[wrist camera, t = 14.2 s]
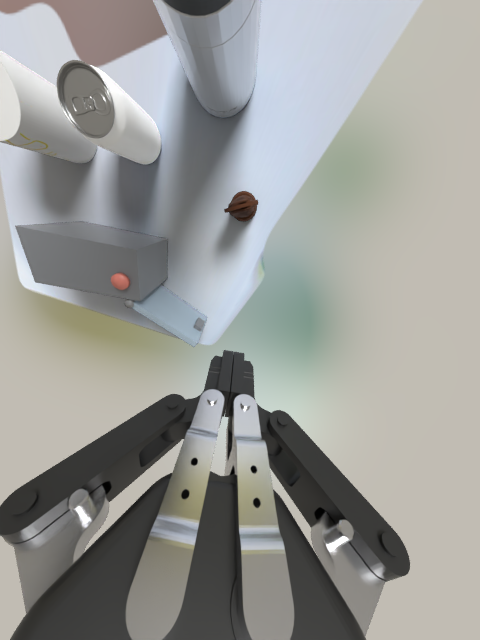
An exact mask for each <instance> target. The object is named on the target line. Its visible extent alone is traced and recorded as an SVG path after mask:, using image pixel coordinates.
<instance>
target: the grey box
mask: <svg viewBox="0 0 480 640" xmlns="http://www.w3.org/2000/svg"><path fill="white" fill-rule="evenodd" d="M15 227H16V229H17V232H18V235H19V238H20V241H21V244H22V246H23V249H24V252H25V255H26V258H27V260H28V263H29V266H30V269H31V272H32V275H33V277H34V280H35V282H37V283H42V284H48V285H53V286H59V287H64V288H70V289H75V290H81V291H86V292H92V293H97V294H103V295H108V296H114V297H119V298H125V299H130V300H136V301H141V300H143V299H144V298H145V297H146V296H147V295H148V294H150V293H151V292H152V291H153V290H154V289H155V288H157V287H158V286H159V285H160V284H161V283H162V282H164V281H165V280H166V279H167V239H166V238H161V237H156V236H151V235H146V234H141V233H137V232H132V231H127V230H122V229H117V228H112V227H107V226H102V225H97V224H92V223H88V222H83V221H80V222H65V223H49V224H34V225H19V226H15Z"/></svg>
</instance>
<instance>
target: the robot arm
mask: <svg viewBox="0 0 480 640" xmlns="http://www.w3.org/2000/svg"><path fill="white" fill-rule="evenodd" d="M153 2H154V4H155V6H156V8H157V10H158V13H159V15H160V17H161V19H162V22H163V24H164V26H165V28H166V31H167V33H168V35H169V37H170V40H171V42H172V44H173V46H174V48H175V51H176V53H177V55H178V57H179V60H180V62H181V64H182V66H183V69H184V71H185V73H186V75H187V78H188V80H189V82H190V85H191V87H192V89H193V91H194V93H195V96H196V97H197V99H198V101H199V103H200V104H201V105H202V106H203V108H204V109H205V110H206V111H208V112H209V113H210V114H212V115H214V116H216V117H221V118H226V117H231V116H233V115H236V114H237V113H238V112H240V111H241V110H242V109H243V108H244V106H245V105H246V104H247V103H248V101H249V99H250V97H251V95H252V92H253V89H254V85H255V80H256V71H257V57H258V43H259V29H260V14H261V0H153ZM233 353H234V355H233ZM253 378H254V376H253V366H252V364H251V363H250V361H244V353H239V352H233V351H226V350H224V352H223V357H219V356H215V357H214V358H213V359H212V360H211V364H210V368H209V372H208V376H207V380H206V384H205V389H204V391H203V393H202V394H201V395H200V396H198V397H196V398H193V399H187V400H185V399H184V398H183V397H182V396H181V395H177V394H171V395H168V396H166V397H164V398H162V399H161V400H159V401H158V402H156V403H154V404H153V405H151V406H150V407H148V408H146V409H145V410H143V411H142V412H140V413H138V414H137V415H135V416H134V417H132V418H130V419H129V420H127V421H126V422H124V423H122V424H121V425H119V426H118V427H116V428H114V429H113V430H111V431H110V432H108V433H106V434H105V435H103V436H101V437H100V438H98V439H97V440H95V441H93V442H92V443H90V444H89V445H87V446H85V447H84V448H82V449H81V450H79V451H77V452H76V453H74V454H73V455H71V456H69V457H68V458H66V459H65V460H63V461H61V462H60V463H58V464H57V465H55V466H53V467H52V468H50V469H49V470H47V471H45V472H44V473H43V474H41V475H39V476H37V477H36V478H34V479H32V480H31V481H29V482H28V483H26V484H25V485H23V486H21V487H20V488H18V489H17V490H16V491H14V492H13V493H12V494H11V495H10V496H9V497H8V498H7V499H6V500H5V501H4V502H3V503H2V505H1V506H0V536H2V537H3V538H4V540H5V541H6V542H7V543H8V544H9V545H11V546H13V547H14V549H15V555H16V560H17V565H18V571H19V577H20V582H21V587H22V593H23V598H24V604H25V609H26V616H25V617H24V618H23V620H22V621H21V623H20V624H19V626H18V627H17V629H16V631H15V632H14V634H13V636H12V637H11V639H10V640H366V638H365V636H366V633H367V630H368V627H369V625H370V622H371V619H372V617H373V614H374V611H375V608H376V606H377V603H378V600H379V597H380V595H381V592H382V589H383V586H384V584H385V582H387V581H390V580H393V579H395V578H398V577H402V576H405V575H406V574H408V572H409V569H410V561H409V556H408V553H407V550H406V548H405V546H404V544H403V542H402V541H401V539H400V537H399V536H398V535H397V533H396V532H395V531H394V530H393V529H392V528H391V526H390V525H389V524H388V523H387V522H386V521H385V520H384V519H383V518H382V517H381V516H380V514H379V513H378V512H377V511H376V510H375V509H374V508H373V507H372V506H371V505H370V503H369V502H368V501H367V500H366V499H365V498H364V497H363V496H362V495H361V493H360V492H358V490H357V489H356V488H355V487H354V486H353V485H352V484H351V483H350V481H349V480H348V479H347V478H346V477H345V476H344V475H343V474H342V473H341V472H340V470H339V469H338V468H337V467H336V466H335V465H334V464H333V463H332V462H331V461H330V459H329V458H328V457H327V456H326V455H325V454H324V453H323V452H322V451H321V450H320V448H319V447H318V446H317V445H316V444H315V443H314V442H313V441H312V440H311V439H310V437H309V436H308V435H307V434H306V433H305V432H304V431H303V430H302V429H301V428H300V427H299V425H298V424H297V423H296V422H295V421H294V420H293V419H292V418H291V417H290V416H289V415H288V414H287V413H286V412H283V411H281V410H277V411H274V412H272V413H270V412H268V411H266V410H264V409H262V408H261V407H260V406H259V405H258V404H257V403H256V401H255V398H254V379H253ZM225 410H226V411H225ZM224 414H225V417H229V419H228V426H227V432H226V433H227V434H226V467H225V476H219V475H217V474H215V473H213V472H211V471H210V469H211V464H212V459H213V454H214V449H215V444H216V440H217V434H218V429H219V426H220V423H221V419H222V416H224ZM181 439H184V442H183V445H182V447H181V450H180V453H179V456H178V459H177V462H176V464H175V467H174V470H173V473H170V474H168V475H166V476H165V477H163V478H161V479H159V480H158V481H157V482H156V483H154V484H153V485H152V486H151V487H150V488H149V489H148V490H147V491H146V492H145V493H144V494H143V495H142V496H141V497H140V498H139V499H138V500H137V501H136V502H135V503H134V504H133V505H132V506H131V507H130V508H129V509H128V510H127V511H126V512H125V513H124V514H123V515H122V516H121V517H120V518H119V519H118V520H117V521H116V522H115V523H114V524H113V525H112V526H111V527H110V528H109V529H108V530H107V531H106V532H105V533H103V535H102V536H100V537H99V538H98V540H96V541H95V543H94V544H92V545H91V546H90V547H89V548H88V549H87V550H86V552H84V550H85V548H86V546H87V544H88V543H89V541H90V539H91V538H92V537H93V535H94V534H95V533H96V532H97V531H98V530H99V529H100V528H101V526H102V525H103V523H104V522H105V520H106V518H107V515H108V512H109V502H110V501H111V500H112V499H114V498H115V497H116V496H117V495H118V494H119V493H120V492H122V491H123V490H124V489H125V488H126V487H127V486H129V485H130V484H131V483H132V482H133V481H134V480H136V479H137V478H138V477H139V476H140V475H142V474H143V473H144V472H145V471H146V470H147V469H148V468H150V467H151V466H152V465H153V464H154V463H155V462H157V461H158V460H159V459H160V458H161V457H162V456H164V455H165V454H166V453H167V452H168V451H169V450H171V449H172V448H173V447H174V446H175V445H176V444H178V443H179V442H180V441H181ZM270 468H271V470H272V471H273V473H274V474H275V475H276V477H277V478H278V480H279V481H280V483H281V484H282V486H283V487H284V489H285V490H286V492H287V493H288V495H289V496H290V497H291V499H292V500H293V501H294V503H295V505H296V506H297V507H298V509H299V511H300V512H301V513H302V515H303V516H304V518H305V519H306V521H307V522H308V524H309V525H310V527H311V528H312V529H311V540H312V544H313V547H314V549H315V552H316V553H315V552H314V550H313V548H312V547H311V545H310V544H309V542H308V541H307V539H306V537H305V536H304V534H303V532H302V531H301V529H300V527H299V526H298V524H297V523H296V521H295V519H294V518H293V516H292V515H291V513H290V511H289V510H288V508H287V507H286V505H285V503H284V502H283V500H282V499H281V498H280V496H279V495H278V494H277V493H276V492H275V491H274V490H273V487H272V480H271V474H270ZM316 554H317V555H318V557H319V558H318V557H317V555H316ZM319 559H320V560H319Z"/></svg>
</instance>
